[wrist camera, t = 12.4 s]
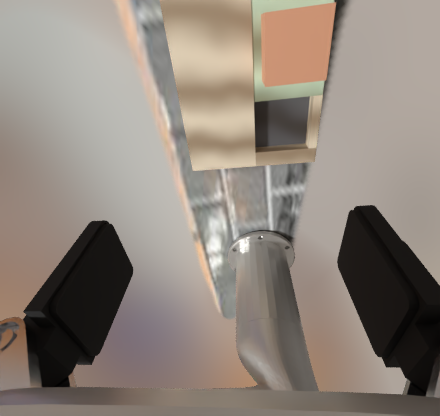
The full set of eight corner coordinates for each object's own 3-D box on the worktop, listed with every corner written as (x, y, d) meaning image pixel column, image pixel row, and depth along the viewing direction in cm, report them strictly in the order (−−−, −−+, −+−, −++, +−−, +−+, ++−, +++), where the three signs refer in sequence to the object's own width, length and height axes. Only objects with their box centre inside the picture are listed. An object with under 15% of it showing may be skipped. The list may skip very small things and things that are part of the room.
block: (315, 74, 28) (326, 80, 24) (261, 80, 28) (265, 87, 25) (322, 5, 24) (336, 2, 21) (260, 14, 25) (264, 12, 22)
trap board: (311, 155, 35) (314, 161, 34) (194, 164, 37) (192, 170, 36) (346, -159, 20) (356, -176, 18) (142, -117, 21) (134, -129, 20)
